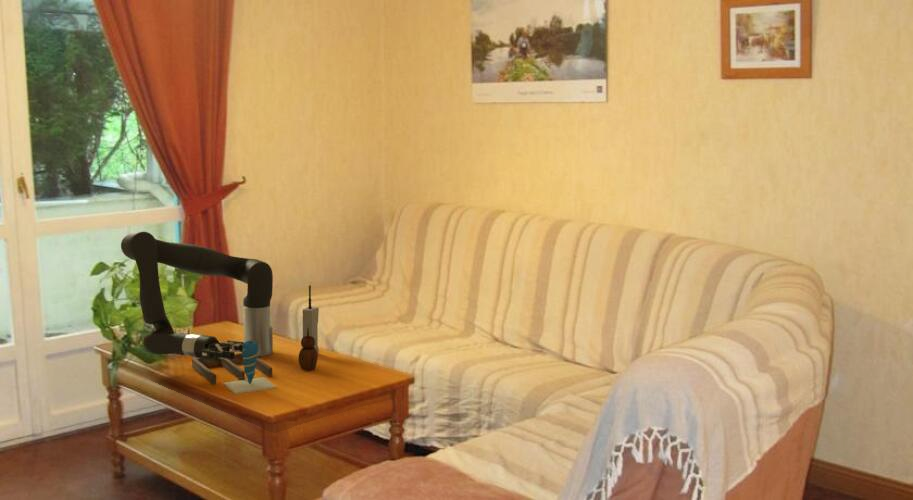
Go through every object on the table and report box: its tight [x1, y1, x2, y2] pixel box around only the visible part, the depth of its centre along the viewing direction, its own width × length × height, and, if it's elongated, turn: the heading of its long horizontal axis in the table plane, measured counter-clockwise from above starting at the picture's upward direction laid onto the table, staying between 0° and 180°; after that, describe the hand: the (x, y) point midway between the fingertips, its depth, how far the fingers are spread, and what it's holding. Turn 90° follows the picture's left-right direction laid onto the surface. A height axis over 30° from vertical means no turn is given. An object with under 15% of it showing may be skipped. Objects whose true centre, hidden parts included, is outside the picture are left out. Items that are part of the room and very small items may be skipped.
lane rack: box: [191, 352, 273, 386], centre depth 323 cm, size 20×23×3 cm
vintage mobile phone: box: [302, 284, 320, 354], centre depth 345 cm, size 4×5×25 cm
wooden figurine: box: [298, 328, 319, 372], centre depth 327 cm, size 7×6×15 cm
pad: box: [223, 377, 277, 395], centre depth 308 cm, size 13×11×1 cm
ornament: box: [241, 338, 259, 384], centre depth 308 cm, size 5×5×15 cm
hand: (242, 352), depth 308 cm, fingers open, 8 cm apart
